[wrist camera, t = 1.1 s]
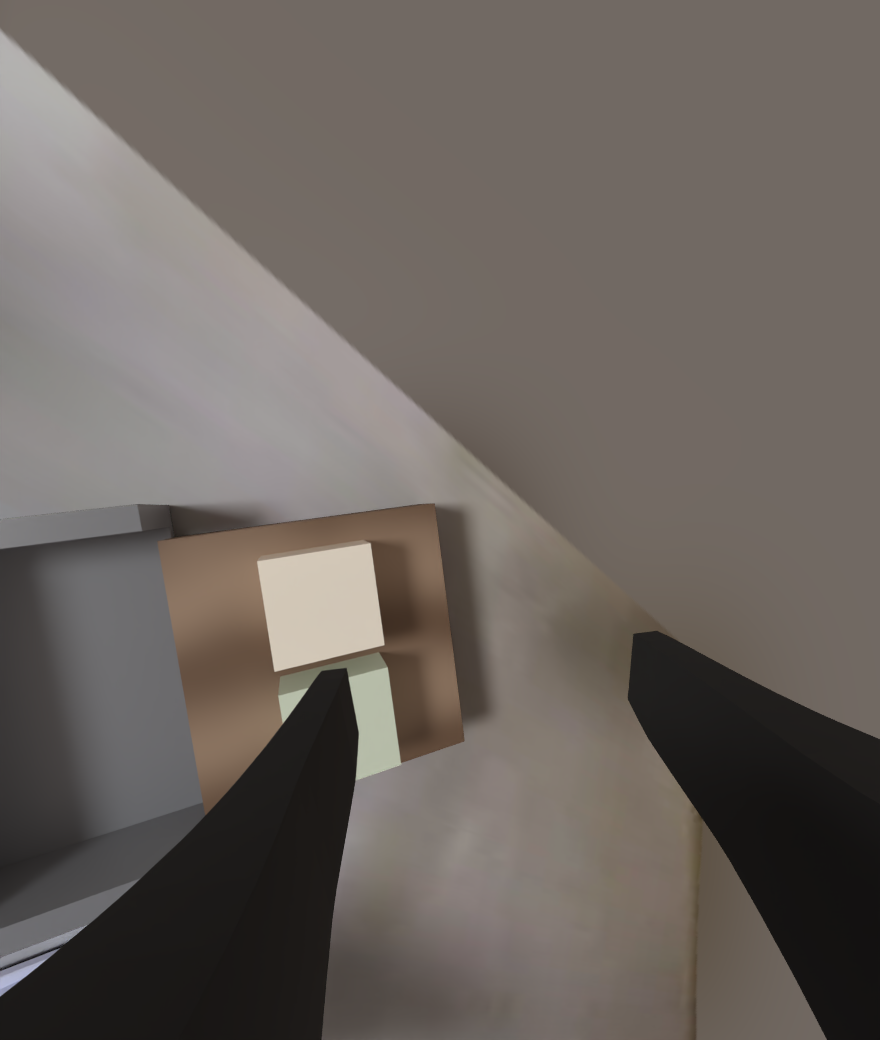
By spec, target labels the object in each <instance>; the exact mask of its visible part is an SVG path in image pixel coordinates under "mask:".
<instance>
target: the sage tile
mask: <svg viewBox="0 0 880 1040" xmlns="http://www.w3.org/2000/svg"><path fill="white" fill-rule="evenodd" d="M340 668H347V672H348V677H349V683H350V688H351V693H352V698H353V704H354V709H355V714H356V720H357V725H358V730H359V740H358V757H357V771H356V780H358V779H361V778H364V777H367V776H370V775H373V774H376V773H379V772H382V771H385V770H388V769H390V768H393V767H396V766H399V765H401V760H400V753H399V746H398V738H397V731H396V724H395V717H394V709H393V702H392V695H391V688H390V680H389V673H388V667H387V665H386V663H385V662H384V660H383V658H382V657H381V655H380V653H379V652H378V653H374V654H370V655H366V656H362V657H358V658H354V659H350V660H346V661H342V662H338V663H333V664H329V665H325V666H321V667H317V668H313V669H309V670H305V671H301V672H297V673H293V674H289V675H285V676H281V677H280V683H279V694H278V697H279V704H280V710H281V716H282V722H283V723H284V721H285V720H286V719H287V718H288V716H289V715H290V713H291V712H292V711H293V709H294V708H295V707H296V705H297V704H298V702H299V701H300V700H301V698H302V697H303V695H304V694H305V693H306V691H307V690H308V688H309V687H310V685H311V684H312V683H313V681H314V680H315V678H316V677H317V676H318V674H319V673H320V672H321V671H324V670H332V669H340ZM356 780H355V781H356Z"/></svg>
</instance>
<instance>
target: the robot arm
mask: <svg viewBox="0 0 880 1040" xmlns="http://www.w3.org/2000/svg"><path fill="white" fill-rule="evenodd" d="M628 700H629V702H630V704H631V706H632V708H633V710H634V712H635V714H636V716H637V718H638V720H639V722H640V724H641V726H642V728H643V730H644V731H645V733H646V735H647V737H648V739H649V740H650V742H651V743H652V745H653V746H654V748H655V749H656V751H657V752H658V754H659V755H660V757H661V758H662V760H663V761H664V763H665V764H666V766H667V767H668V769H669V770H670V772H671V773H672V775H673V776H674V778H675V779H676V781H677V782H678V784H679V785H680V786H681V788H682V789H683V791H684V792H685V794H686V795H687V797H688V798H689V800H690V801H691V803H692V804H693V805H694V807H695V808H696V810H697V811H698V813H699V814H700V816H701V817H702V819H703V820H704V822H705V823H706V825H707V826H708V827H709V829H710V830H711V832H712V833H713V835H714V836H715V838H716V839H717V841H718V843H719V844H720V846H721V847H722V849H723V850H724V852H725V854H726V855H727V857H728V858H729V860H730V862H731V863H732V865H733V867H734V869H735V871H736V872H737V874H738V876H739V877H740V879H741V881H742V883H743V884H744V886H745V888H746V890H747V892H748V893H749V895H750V897H751V899H752V900H753V902H754V904H755V905H756V907H757V909H758V911H759V913H760V914H761V916H762V918H763V920H764V922H765V923H766V925H767V927H768V929H769V931H770V933H771V935H772V936H773V938H774V940H775V942H776V944H777V945H778V947H779V949H780V951H781V953H782V955H783V956H784V958H785V960H786V962H787V964H788V966H789V967H790V969H791V971H792V973H793V975H794V977H795V979H796V980H797V983H798V984H799V986H800V988H801V990H802V992H803V994H804V996H805V998H806V1000H807V1002H808V1004H809V1006H810V1008H811V1010H812V1011H813V1013H814V1015H815V1017H816V1019H817V1021H818V1023H819V1025H820V1027H821V1029H822V1031H823V1033H824V1035H825V1037H826V1038H827V1040H880V739H878V738H875V737H873V736H871V735H868V734H866V733H863V732H861V731H859V730H856V729H854V728H852V727H849V726H847V725H844V724H842V723H840V722H837V721H835V720H833V719H831V718H828V717H826V716H824V715H822V714H819V713H817V712H815V711H813V710H810V709H809V708H807V707H804V706H802V705H800V704H798V703H796V702H794V701H792V700H790V699H788V698H786V697H784V696H781V695H779V694H777V693H775V692H773V691H771V690H769V689H767V688H765V687H763V686H761V685H760V684H757V683H755V682H754V681H752V680H750V679H748V678H746V677H744V676H742V675H740V674H738V673H736V672H735V671H733V670H731V669H729V668H727V667H725V666H723V665H721V664H720V663H718V662H716V661H714V660H712V659H710V658H708V657H706V656H705V655H703V654H701V653H699V652H697V651H695V650H694V649H692V648H690V647H688V646H686V645H684V644H682V643H680V642H678V641H677V640H675V639H673V638H671V637H669V636H667V635H665V634H662V633H660V632H658V631H653V632H645V633H636V634H633V646H632V657H631V668H630V680H629V691H628ZM358 740H359V730H358V725H357V720H356V714H355V709H354V704H353V698H352V693H351V688H350V683H349V677H348V672H347V668H340V669H332V670H324V671H321V672H320V673H319V674H318V676H317V677H316V678H315V680H314V681H313V683H312V684H311V685H310V687H309V688H308V690H307V691H306V693H305V694H304V695H303V697H302V698H301V700H300V701H299V702H298V704H297V705H296V707H295V708H294V709H293V711H292V712H291V713H290V715H289V716H288V718H287V719H286V720H285V721H284V723H283V724H282V725H281V727H280V728H279V729H278V731H277V732H276V733H275V735H274V736H273V737H272V739H271V740H270V741H269V742H268V744H267V745H266V746H265V747H264V749H263V750H262V751H261V752H260V754H259V755H258V756H257V757H256V758H255V760H254V761H253V762H252V763H251V764H250V766H249V767H248V768H247V769H246V770H245V772H244V773H243V774H242V775H241V776H240V778H239V779H238V780H237V781H236V782H235V783H234V785H233V786H232V787H231V788H230V789H229V790H228V791H227V793H226V794H225V795H224V796H223V797H222V798H221V799H220V800H219V801H218V802H217V804H216V805H215V806H214V807H213V808H212V809H211V810H210V811H209V812H208V813H207V814H206V815H205V816H204V817H203V818H202V819H201V821H200V822H199V823H198V824H197V825H196V826H195V827H194V828H193V829H192V830H191V831H190V832H189V833H188V834H187V835H186V836H185V837H184V838H183V839H182V840H181V841H180V842H179V843H178V844H177V845H176V846H174V847H173V848H172V849H171V850H170V851H169V852H168V853H167V854H166V855H165V856H164V857H163V858H162V859H161V860H160V861H159V862H158V863H156V864H155V865H154V866H153V867H152V868H151V869H150V870H149V871H148V872H147V873H146V874H145V875H144V876H143V877H142V878H141V879H140V880H138V881H137V882H136V883H135V884H134V885H133V886H132V887H131V888H130V889H129V890H128V891H127V892H125V893H124V894H123V895H122V896H121V897H120V898H119V899H117V900H116V901H115V902H114V903H113V904H112V905H111V906H109V907H108V908H107V909H106V910H105V911H104V912H103V913H101V914H100V915H99V916H98V917H97V918H96V919H95V920H93V921H92V922H91V923H90V924H89V925H88V926H86V927H85V928H84V929H83V930H82V931H80V932H79V933H78V934H77V935H76V936H74V937H73V938H72V939H71V940H70V941H68V942H67V943H66V944H65V945H64V946H63V947H61V948H59V949H57V950H54V951H51V952H49V953H46V954H44V955H41V956H38V957H36V958H33V959H31V960H28V961H25V962H23V963H20V964H18V965H15V966H12V967H10V968H7V969H5V970H2V971H0V1040H321V1037H322V1026H323V1014H324V1003H325V991H326V980H327V969H328V959H329V949H330V938H331V928H332V918H333V910H334V903H335V896H336V889H337V883H338V878H339V872H340V866H341V861H342V855H343V849H344V844H345V838H346V832H347V827H348V821H349V815H350V810H351V804H352V798H353V792H354V786H355V780H356V771H357V757H358Z"/></svg>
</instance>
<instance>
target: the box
mask: <svg viewBox="0 0 880 1040" xmlns="http://www.w3.org/2000/svg"><path fill="white" fill-rule="evenodd" d="M173 537H174V532H173V526H172V520H171V515H170V509H169V505H146V504H135V505H126V506H117V507H108V508H98V509H89V510H80V511H71V512H62V513H53V514H43V515H34V516H25V517H16V518H7V519H0V957H3V956H6V955H8V954H11V953H14V952H16V951H19V950H22V949H24V948H27V947H30V946H32V945H35V944H37V943H40V942H43V941H45V940H48V939H51V938H53V937H56V936H59V935H61V934H64V933H67V932H69V931H72V930H75V929H77V928H80V927H83V926H85V925H88V924H90V923H91V922H92V921H93V920H95V919H96V918H97V917H98V916H99V915H100V914H101V913H103V912H104V911H105V910H106V909H107V908H108V907H109V906H111V905H112V904H113V903H114V902H115V901H116V900H117V899H119V898H120V897H121V896H122V895H123V894H124V893H125V892H127V891H128V890H129V889H130V888H131V887H132V886H133V885H134V884H135V883H136V882H137V881H138V880H140V879H141V878H142V877H143V876H144V875H145V874H146V873H147V872H148V871H149V870H150V869H151V868H152V867H153V866H154V865H155V864H156V863H158V862H159V861H160V860H161V859H162V858H163V857H164V856H165V855H166V854H167V853H168V852H169V851H170V850H171V849H172V848H173V847H174V846H176V845H177V844H178V843H179V842H180V841H181V840H182V839H183V838H184V837H185V836H186V835H187V834H188V833H189V832H190V831H191V830H192V829H193V828H194V827H195V826H196V825H197V824H198V823H199V822H200V821H201V819H202V818H203V817H204V816H205V812H204V806H203V800H202V795H201V789H200V783H199V777H198V772H197V766H196V760H195V754H194V749H193V743H192V737H191V732H190V726H189V720H188V714H187V709H186V703H185V697H184V692H183V686H182V680H181V674H180V669H179V663H178V657H177V652H176V646H175V640H174V634H173V629H172V623H171V617H170V612H169V606H168V600H167V594H166V589H165V583H164V577H163V572H162V566H161V560H160V554H159V549H158V543H157V541H160V540H165V539H169V538H173Z"/></svg>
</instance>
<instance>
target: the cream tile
mask: <svg viewBox="0 0 880 1040" xmlns="http://www.w3.org/2000/svg"><path fill="white" fill-rule="evenodd" d="M257 565H258V571H259V577H260V583H261V590H262V596H263V602H264V609H265V615H266V621H267V628H268V634H269V640H270V647H271V653H272V659H273V666H274V672H276V671H280V670H284V669H288V668H293V667H297V666H301V665H305V664H309V663H313V662H317V661H321V660H325V659H329V658H334V657H338V656H342V655H346V654H350V653H354V652H358V651H362V650H366V649H371V648H375V647H379V646H383V645H385V644H384V637H383V630H382V623H381V615H380V608H379V601H378V594H377V586H376V579H375V572H374V565H373V557H372V550H371V543H369V542H367V541H365V540H359V541H353V542H347V543H340V544H334V545H328V546H321V547H315V548H308V549H302V550H296V551H289V552H283V553H277V554H270V555H264V556H261V557H260V558H259V559H258V561H257Z"/></svg>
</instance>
